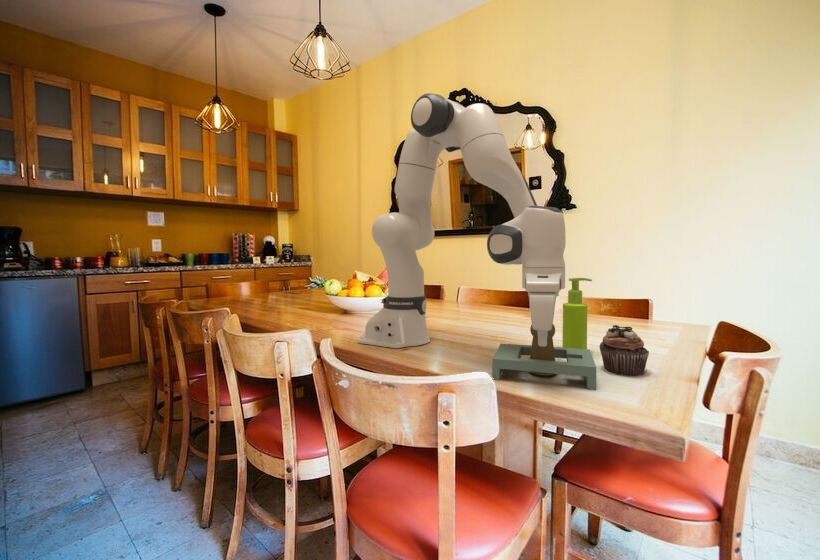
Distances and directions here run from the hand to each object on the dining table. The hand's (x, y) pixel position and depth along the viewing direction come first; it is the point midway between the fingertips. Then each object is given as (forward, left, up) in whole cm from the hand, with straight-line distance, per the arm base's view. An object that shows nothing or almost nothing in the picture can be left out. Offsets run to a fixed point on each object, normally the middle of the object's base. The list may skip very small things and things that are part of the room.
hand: (542, 342), depth 83 cm
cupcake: (+17, +8, -7) cm, 20 cm away
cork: (0, 0, -6) cm, 6 cm away
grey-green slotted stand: (0, 0, -7) cm, 7 cm away
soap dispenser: (+8, +20, -7) cm, 23 cm away
